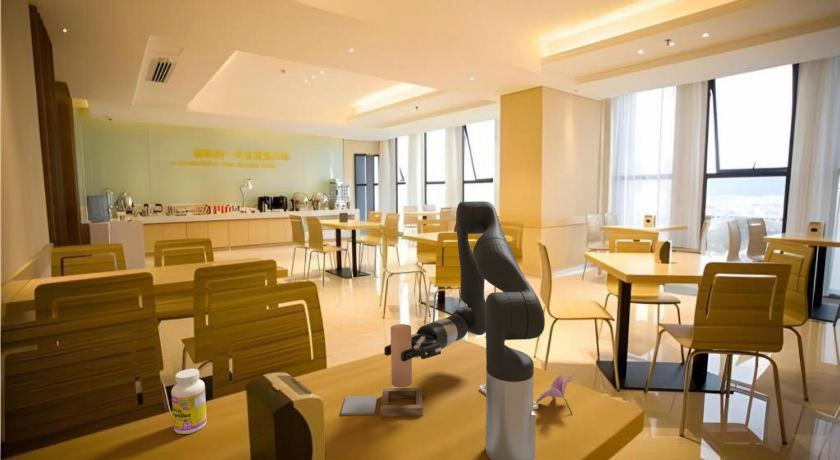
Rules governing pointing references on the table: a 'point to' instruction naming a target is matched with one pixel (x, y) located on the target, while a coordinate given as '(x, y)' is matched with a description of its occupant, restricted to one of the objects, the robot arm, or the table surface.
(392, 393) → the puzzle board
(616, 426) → the table surface
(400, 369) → the post
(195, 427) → the supplement bottle
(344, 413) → the mat
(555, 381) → the lily
